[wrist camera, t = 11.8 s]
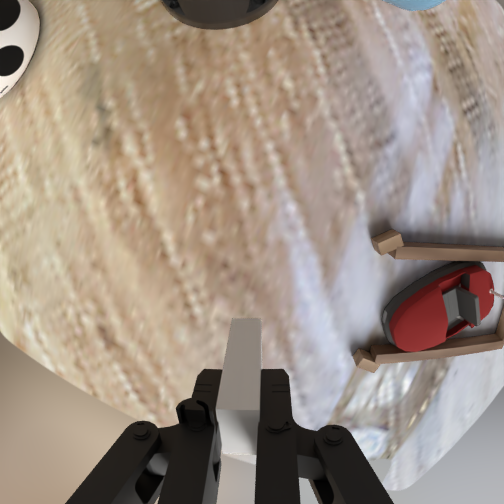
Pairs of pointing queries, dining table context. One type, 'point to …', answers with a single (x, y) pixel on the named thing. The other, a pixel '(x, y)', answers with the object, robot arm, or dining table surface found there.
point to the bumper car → (439, 306)
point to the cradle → (451, 347)
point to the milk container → (16, 40)
